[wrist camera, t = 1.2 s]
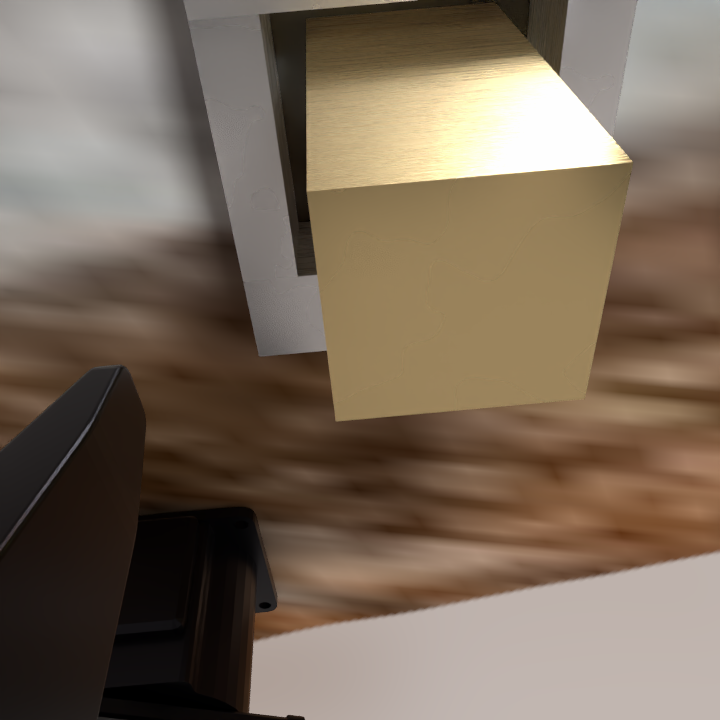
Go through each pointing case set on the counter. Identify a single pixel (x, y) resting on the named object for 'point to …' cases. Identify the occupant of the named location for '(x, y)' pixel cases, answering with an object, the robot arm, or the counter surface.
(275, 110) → the rail bar
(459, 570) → the counter surface
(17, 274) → the counter surface
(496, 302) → the brass peg
